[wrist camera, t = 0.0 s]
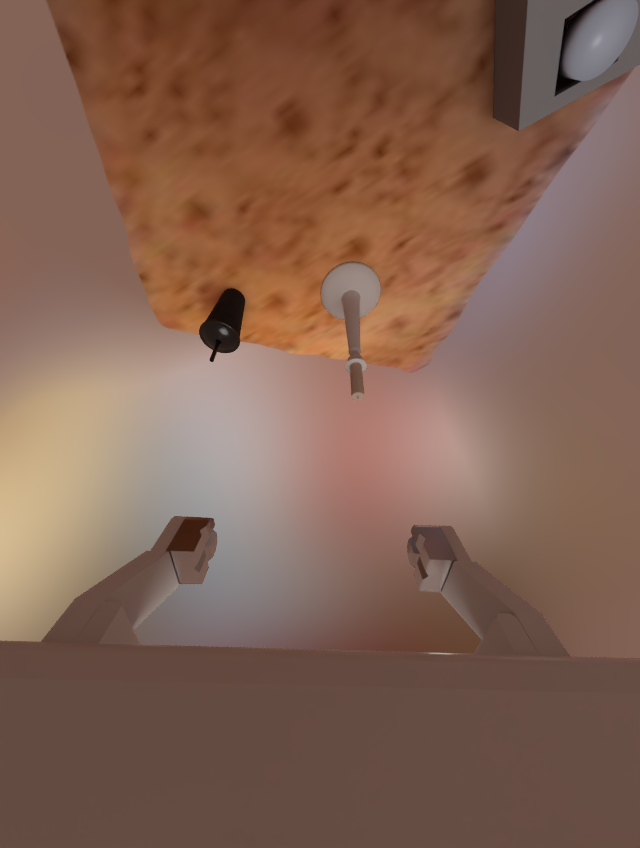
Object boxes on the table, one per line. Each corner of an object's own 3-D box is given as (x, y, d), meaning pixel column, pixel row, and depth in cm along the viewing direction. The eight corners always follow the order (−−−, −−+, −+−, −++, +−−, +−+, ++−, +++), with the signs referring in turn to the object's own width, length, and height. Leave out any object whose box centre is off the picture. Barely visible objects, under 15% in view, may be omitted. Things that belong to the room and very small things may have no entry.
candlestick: (342, 328, 66) (346, 430, 49) (309, 287, 58) (299, 393, 41) (390, 298, 60) (414, 404, 43) (360, 247, 51) (375, 354, 34)
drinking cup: (213, 304, 62) (186, 366, 51) (220, 275, 56) (192, 336, 45) (245, 319, 65) (227, 380, 54) (255, 292, 59) (237, 354, 48)
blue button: (560, 21, 27) (578, 21, 25) (623, -19, 25) (648, -24, 23) (551, 89, 31) (567, 93, 29) (606, 57, 29) (626, 59, 27)
